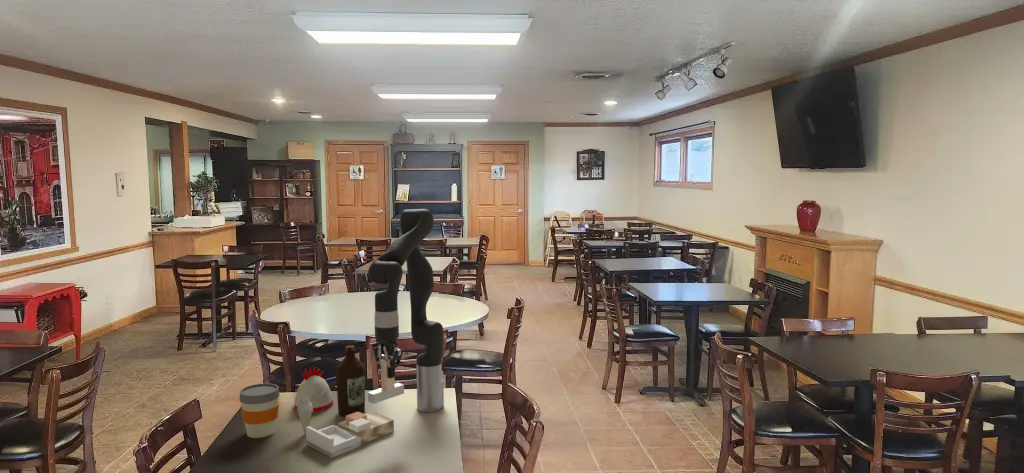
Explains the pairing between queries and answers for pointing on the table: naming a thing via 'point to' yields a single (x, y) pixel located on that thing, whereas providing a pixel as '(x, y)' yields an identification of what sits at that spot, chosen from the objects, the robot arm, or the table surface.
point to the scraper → (385, 386)
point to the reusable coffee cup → (260, 409)
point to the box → (332, 440)
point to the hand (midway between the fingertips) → (387, 376)
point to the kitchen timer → (314, 391)
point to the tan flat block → (372, 427)
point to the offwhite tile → (359, 425)
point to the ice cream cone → (305, 411)
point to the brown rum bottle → (350, 384)
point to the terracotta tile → (355, 416)
